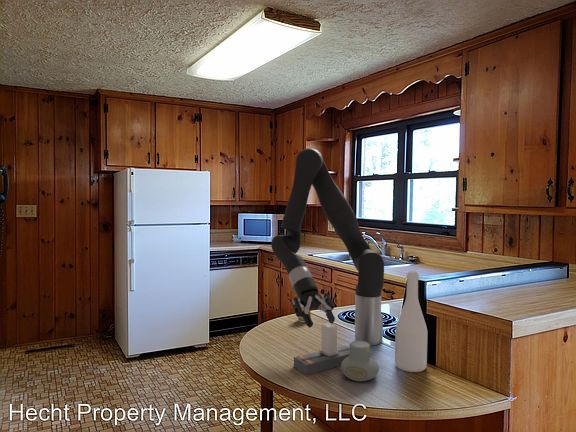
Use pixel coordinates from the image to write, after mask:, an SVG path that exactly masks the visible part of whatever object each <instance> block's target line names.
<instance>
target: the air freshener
mask: <svg viewBox="0 0 576 432" xmlns="http://www.w3.org/2000/svg"><path fill="white" fill-rule="evenodd" d="M349 348H350V356H348V357H346V358H345V359H344V360H343V361H342V363H341V366H340V370H341V372H342V374H343V375H344V376H345V377H347V379H350V380H352V381H354V382H358V383H360V382H361V383H362V382H367V381H370V380H372V379H374V378H376V376H377V375H378V374H379V370H380V369H379V365H378V363H377V361H376V360H375V359H374V358H373V357H371V345H370V344H369V343H367V342H364V341H355V340H354V341H352V342H350V343H349Z"/></svg>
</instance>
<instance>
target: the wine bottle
mask: <svg viewBox="0 0 576 432" xmlns="http://www.w3.org/2000/svg"><path fill="white" fill-rule="evenodd" d="M419 278H420V273H419V272H418V271H417V270H408V271H407V272H406V279H407V280H406V296H405V301H404V304H403V307H402V309H401V312H400V314H399V316H398V320H397V322H396V326H395V331H394V333H395V337H394V339H395V341H394V342H395V343H394V364H395V367H397V368H398V369H400V370H401V371H405V372H408V373H421V372H423V371H425V370H426V369H427V365H428V328H427V324H426V321H425V318H424V314H423V311H422V308H421V305H420V304H421V303H420V302H419Z"/></svg>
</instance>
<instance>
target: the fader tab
mask: <svg viewBox="0 0 576 432" xmlns="http://www.w3.org/2000/svg"><path fill="white" fill-rule="evenodd" d="M337 347H338V325H336V324H333V323H330V322H326V323H322V324H321V348H320V349H319V350H318V351H319V352H321V353H323V354H325V355H326V356H328V357H330V356H334V355H338V354H339V352H337Z"/></svg>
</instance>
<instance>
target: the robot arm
mask: <svg viewBox="0 0 576 432" xmlns="http://www.w3.org/2000/svg"><path fill="white" fill-rule="evenodd" d="M292 183H293V184H292V187H291V191H290V194H289V197H288V201H287V203H286V207H285V211H284V214H283V218H282V220H281V221H282V222H281V227H282V228H283V229H285V230H286V231H288V234H287V235H283V234H277V235H275V236H274V237H272V240H271V243H270V244H271V245H270V246H271V250H272V252H273V255H275V257H276V259H278V261H279V262H280V263H281V265H283V266H284V269H285V270H286V273H287V275H288V277H289V281H290V283H291V286H292V288H293V290H294V292H295V295H296V296H295V297H294V298H293V299H292V300H291V305H292V308H293V310H294V311H293V312H294V314H295V316H296V317H297V318H298V317H299V316H301V317H302V318H304V321H305V323H304V324H305V325H306V326H307V327H308V328H312V327H313V325H314V322H313V320H312V318H310V315H309V314H308V311H309V310H311V311H312V310H320V311H322V312H323V313H325V315H326V318H327V320H328V323H331V324H333V323H335V321H336V317H335V316H334V314H333V310H334V309H335V307H336V305H335V304H334V302H333V300H332V299H331V296H330V295H329V293H328V292H325V293H324V294H320V293H319V288H318V286H317V283H316V282H315V280H314V277H313V275H312V273H311V271H310V270H309V268H308V266H307V264H306V262H305V260H304V259H303V256H301V255H300V254H297V253H298V252H299V250H300V247H301V235H302V234H301V233H302V232H301V230H302V229H301V228H302V224H303V220H304V217H305V214H306V209H307V207H308V199H309V196H310V191H311V188H312V186H313V188H314V190H315V193H316V196H317V199H318V202H319V204H320V206H321V208H322V210H323V213H324V215H325V217H326V219H328V220H327V221H328V222H329V223H330V225H331V227H332V228H333V230H334V231H335V233H336V234H337V235H338V237H339V238H340V240H341V241H342V243H343V245H344V246H345V248H346V251H348V255H349V256H350V259H351V261H352V263H353V265H354V267H355V269H356V270H357V273H358V277H357V285H356V286H355V290H354V291H355V296H354V297H355V300H354V301H355V302H354V303H355V304H354V305H355V306H354V309H355V310H354V341H364V342H367V343H369V344H370V346H377V345H379V344H381V342H383V337H384V336H383V334H384V329H383V328H384V315H382V290H383V289H384V280H385V279H384V278H385V261H384V259H383V256H382V255H381V254H380V253H379V252H376V251H374V250H373V249H372V248H371V247H370V245H369V244H368V242H367V241H366V239H365V238H364V236H363V234H362V231H361V228H360V225H359V221H358V218H357V216H356V213H355V211H354V209H353V208H352V206H351V205H350V203H349V201H348V199H347V198H346V197H345V195H344V194H343V192H342V190H341V189H340V188H339V186H338V185H337V184H336V182H335V180H334V179H333V177H332V176H331V174H330V171H329V170H328V168H327V165H326V162H325V160H324V158H323V156H322V153H321V152H320V151H319V150H318V149H316V148H314V147H313V148H312V147H307V148H304V149H302V150H300V152H298V153H297V155H296V157H295V169H294V178H293V181H292ZM300 303H301V304H302V305H303V306H304V307H303V310H302V309H301V306H300Z"/></svg>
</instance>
